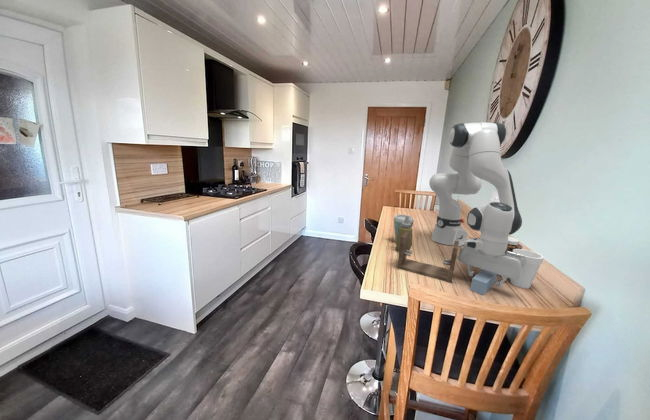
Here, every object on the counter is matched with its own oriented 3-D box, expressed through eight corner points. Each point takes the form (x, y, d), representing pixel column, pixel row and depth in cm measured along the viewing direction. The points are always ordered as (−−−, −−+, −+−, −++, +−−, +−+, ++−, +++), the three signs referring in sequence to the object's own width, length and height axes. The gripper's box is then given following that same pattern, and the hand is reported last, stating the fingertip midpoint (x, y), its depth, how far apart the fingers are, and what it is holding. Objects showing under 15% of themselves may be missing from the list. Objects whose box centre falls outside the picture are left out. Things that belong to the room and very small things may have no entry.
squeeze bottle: (410, 248, 130) (415, 215, 126) (411, 254, 122) (416, 219, 118) (394, 246, 132) (398, 213, 128) (394, 252, 124) (399, 217, 120)
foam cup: (509, 276, 105) (516, 247, 103) (537, 285, 99) (545, 254, 96) (502, 282, 99) (510, 252, 96) (532, 293, 93) (540, 260, 90)
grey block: (482, 277, 103) (485, 266, 102) (495, 282, 100) (498, 270, 99) (469, 290, 92) (472, 278, 91) (483, 296, 89) (486, 283, 88)
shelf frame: (453, 272, 105) (458, 241, 102) (451, 282, 97) (457, 249, 94) (402, 260, 115) (406, 231, 112) (396, 268, 107) (400, 237, 104)
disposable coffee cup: (414, 246, 135) (418, 219, 131) (395, 246, 133) (398, 218, 130) (405, 239, 145) (408, 214, 141) (387, 239, 143) (390, 213, 140)
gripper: (528, 253, 87) (519, 289, 91) (465, 237, 102) (459, 268, 105) (525, 258, 83) (515, 295, 86) (460, 240, 98) (453, 272, 101)
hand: (484, 280), depth 96 cm, fingers open, 8 cm apart
